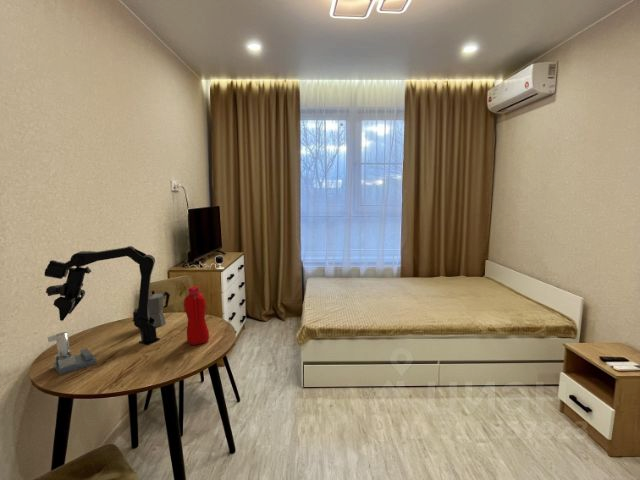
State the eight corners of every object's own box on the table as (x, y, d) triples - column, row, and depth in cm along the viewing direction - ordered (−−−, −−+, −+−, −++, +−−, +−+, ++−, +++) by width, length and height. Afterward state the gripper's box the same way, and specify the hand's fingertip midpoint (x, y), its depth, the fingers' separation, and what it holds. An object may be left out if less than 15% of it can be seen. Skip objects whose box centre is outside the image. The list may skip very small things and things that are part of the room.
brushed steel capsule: (70, 360, 137) (66, 331, 136) (72, 363, 135) (68, 333, 133) (51, 366, 133) (47, 336, 131) (53, 369, 131) (49, 338, 129)
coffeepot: (149, 330, 171) (145, 295, 168) (138, 327, 176) (135, 292, 173) (177, 320, 183) (174, 287, 181) (166, 317, 188) (163, 285, 186)
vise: (89, 356, 145) (88, 344, 144) (96, 363, 138) (95, 351, 137) (54, 367, 136) (52, 355, 136) (59, 375, 129) (57, 363, 129)
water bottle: (188, 348, 148) (182, 292, 145) (186, 339, 158) (182, 286, 155) (210, 344, 152) (206, 289, 149) (208, 335, 162) (203, 283, 159)
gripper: (60, 272, 151) (51, 307, 151) (42, 282, 134) (32, 321, 134) (89, 277, 155) (80, 311, 155) (76, 287, 138) (66, 325, 138)
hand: (65, 316), depth 145 cm, fingers open, 9 cm apart
